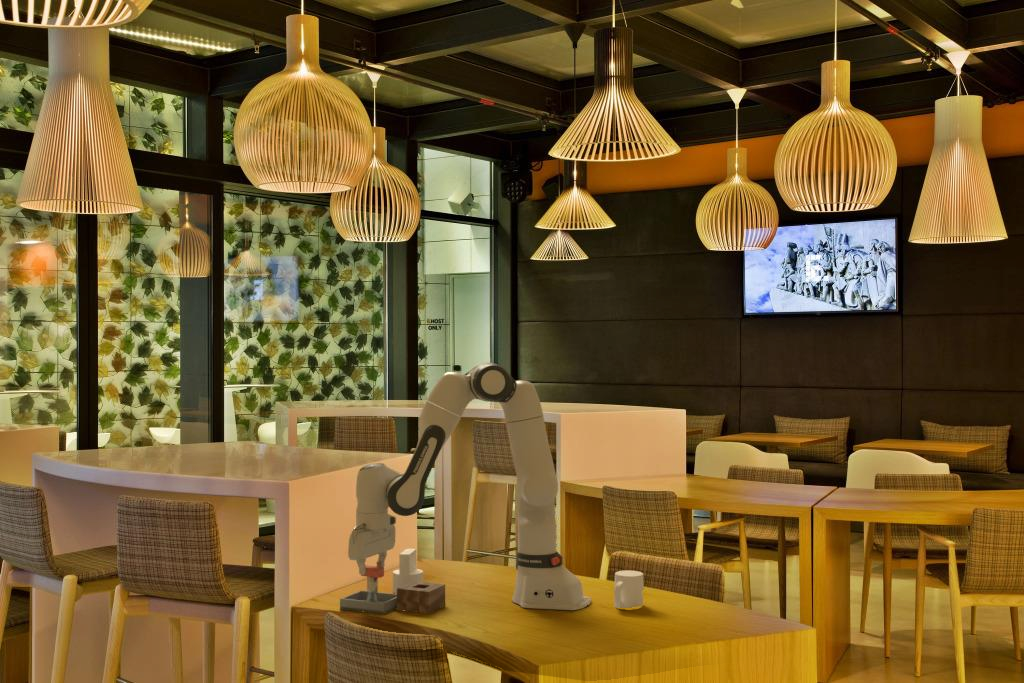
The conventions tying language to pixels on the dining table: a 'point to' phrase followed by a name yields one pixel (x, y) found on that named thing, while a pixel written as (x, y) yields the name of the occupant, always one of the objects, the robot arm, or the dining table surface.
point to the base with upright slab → (406, 570)
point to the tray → (369, 602)
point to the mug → (628, 589)
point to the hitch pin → (373, 581)
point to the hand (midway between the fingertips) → (372, 570)
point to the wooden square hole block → (420, 596)
